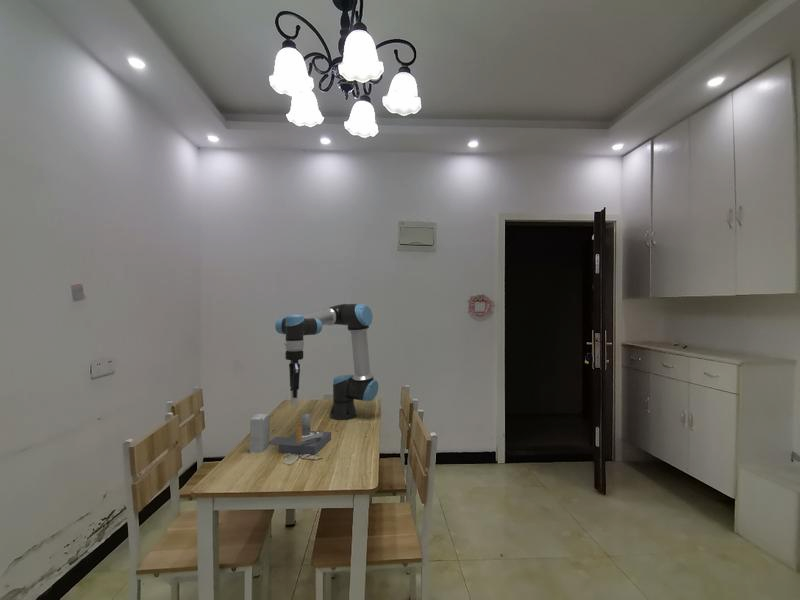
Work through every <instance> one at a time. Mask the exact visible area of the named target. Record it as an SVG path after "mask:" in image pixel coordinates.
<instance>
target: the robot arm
mask: <svg viewBox="0 0 800 600" xmlns="http://www.w3.org/2000/svg"><path fill="white" fill-rule="evenodd" d="M373 318H374V315H373V312H372V309H371V308H370V307H369V305H367V304H364V303H342V304H336V305H333V306H329V307H326V308H324V309H322V310H320V311H315V312H310V313H307V314H287V315H286V316H285V317H281V318H278V319H276V321H275V323H274V326H275V331H276V332H277V333H278V334H282V335H285V342H284V343H283V344H284V346H285V356H284V357H285V360H287V361H289V362H290V363H289V364H288V367H289V368H288V370H289V387H290V388H289V391H290V406H291V407H292V406H298V405H299V403H298V402H299V397H298V396H299V389H300V375H301V373H300V372H301V364H300V363H299V360H303V359H304V345H305V344H304V343H305V342H304V336H312V335H313V336H315V335H319V334H320V333H321V332H322V331H323V326H325V325H328V326H333V325H337V326H338V325H340V326H346V327H347V331H348V332H350V336H351V339H350V340H351V347H352V357H353V358H352V359H353V369H354V374H344V375H338V376H335V377H334V378H333V383H332V394H333V395H332V398H333V399H332V400H333V401H332V406H331V409H330V413H329V418H330V419H333V420H343V419H345V420H351V418H352V419H355V418H357V415H358V414H357V413H358V412H357V409H356V405H355V402H354V401H355V400H358V401H364V402H371V401H373V400H374V399H375V398H376V396H377V394H378V392H379V382H378V381H377V380H376V379H374V375H373V373H371V368H370V367H371V366H370V355H369V344H368V343H369V342H368V334H367V333H368V332H367V331H368V329H370V325H371V324H372V323H373ZM354 417H355V418H354Z"/></svg>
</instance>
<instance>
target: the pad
mask: <svg viewBox="0 0 800 600" xmlns="http://www.w3.org/2000/svg"><path fill="white" fill-rule="evenodd" d="M287 438H288V437H284V436H283V437H282V436H275V437H273V438H272V439H271V440H269V446H270V445H272V446H279V444H281V443H282V442H283V441H285V440H286V439H287Z"/></svg>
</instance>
